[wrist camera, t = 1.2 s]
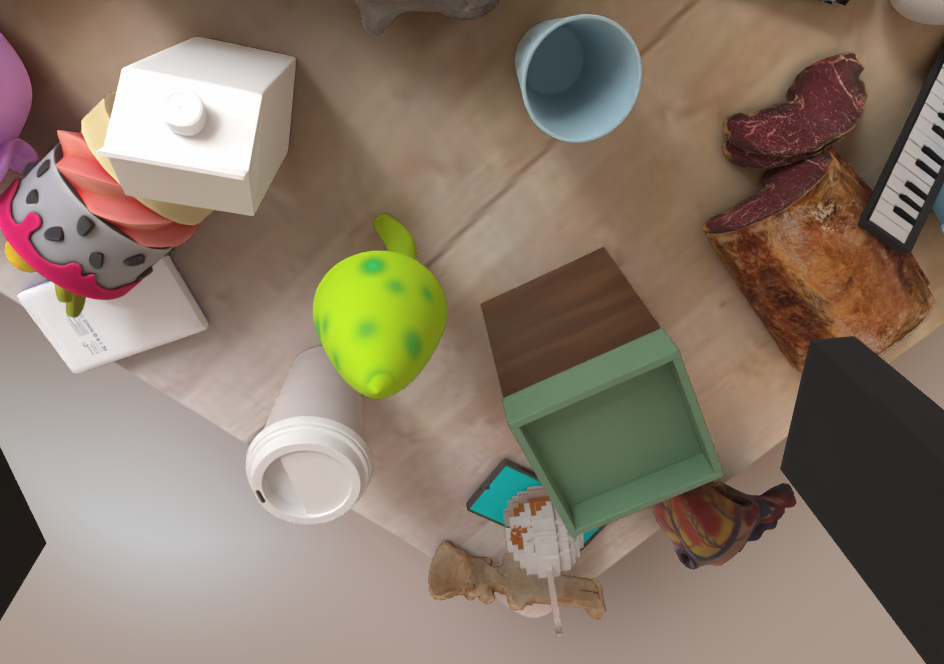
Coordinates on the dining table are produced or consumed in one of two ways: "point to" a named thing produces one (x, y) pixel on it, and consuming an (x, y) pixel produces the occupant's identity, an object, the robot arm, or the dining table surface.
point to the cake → (88, 220)
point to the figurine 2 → (921, 10)
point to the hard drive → (118, 319)
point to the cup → (578, 76)
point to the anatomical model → (719, 520)
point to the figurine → (507, 582)
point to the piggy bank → (418, 10)
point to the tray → (615, 433)
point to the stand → (563, 321)
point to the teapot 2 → (939, 207)
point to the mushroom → (380, 314)
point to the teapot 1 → (13, 111)
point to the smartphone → (508, 494)
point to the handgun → (841, 0)
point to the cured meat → (814, 224)
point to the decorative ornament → (540, 540)
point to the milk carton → (202, 125)
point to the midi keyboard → (911, 170)
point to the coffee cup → (311, 446)
